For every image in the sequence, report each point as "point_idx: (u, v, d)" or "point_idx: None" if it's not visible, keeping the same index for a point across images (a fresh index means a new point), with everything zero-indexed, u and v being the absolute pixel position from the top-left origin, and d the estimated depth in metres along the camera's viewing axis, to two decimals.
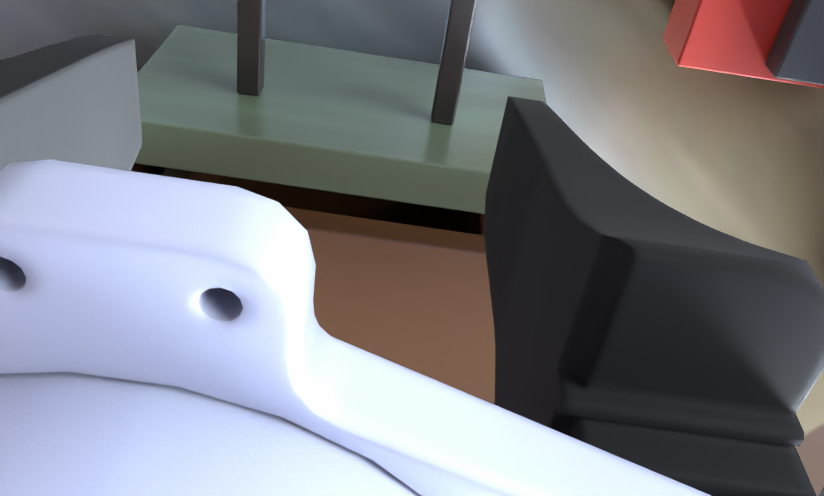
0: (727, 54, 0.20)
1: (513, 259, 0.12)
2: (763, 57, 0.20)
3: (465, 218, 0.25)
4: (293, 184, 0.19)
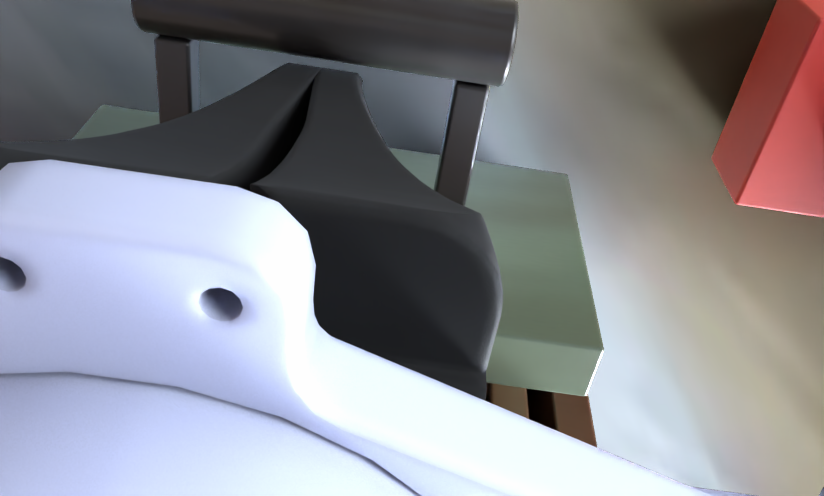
0: (800, 192, 0.16)
1: None
2: None
3: None
4: None
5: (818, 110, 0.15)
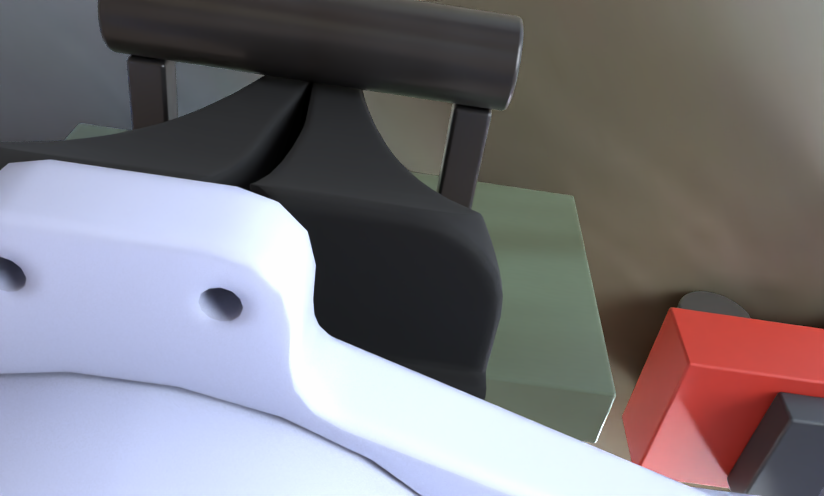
0: (687, 469, 0.19)
1: None
2: (725, 474, 0.19)
3: None
4: None
5: (695, 418, 0.18)
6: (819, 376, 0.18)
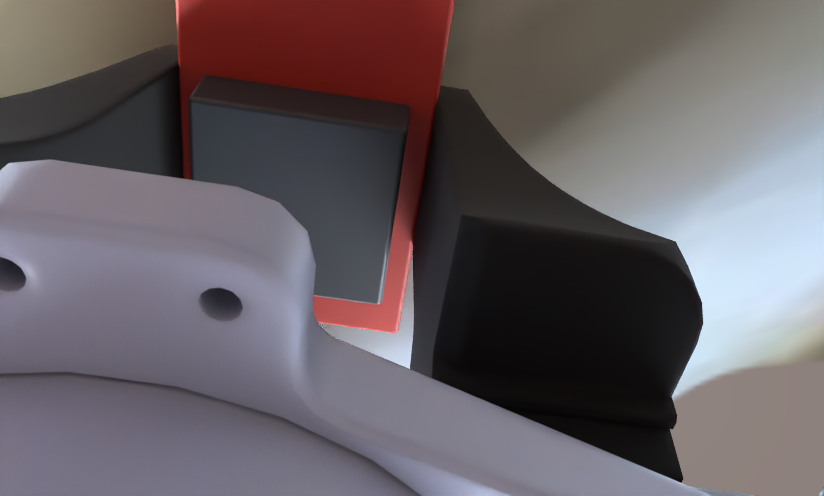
0: (210, 8, 0.11)
1: (427, 247, 0.12)
2: (216, 70, 0.12)
3: None
4: None
5: None
6: None
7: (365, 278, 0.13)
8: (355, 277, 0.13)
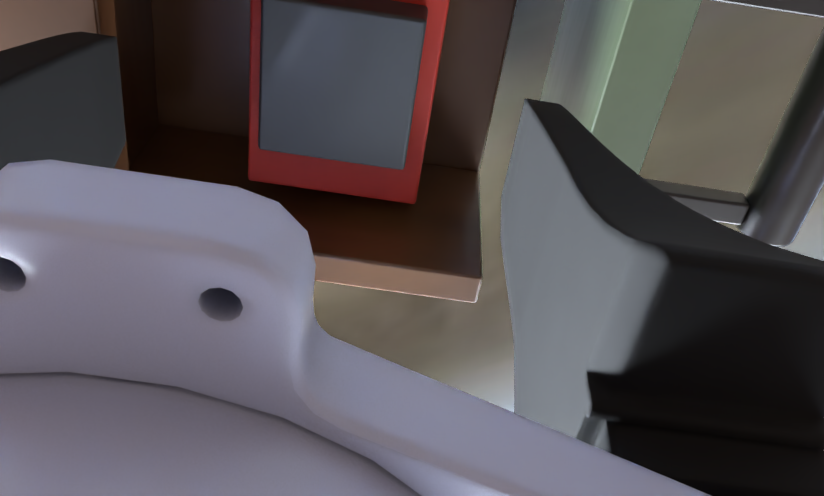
0: None
1: (533, 262, 0.12)
2: None
3: None
4: (602, 87, 0.14)
5: None
6: None
7: (392, 146, 0.17)
8: (384, 146, 0.17)
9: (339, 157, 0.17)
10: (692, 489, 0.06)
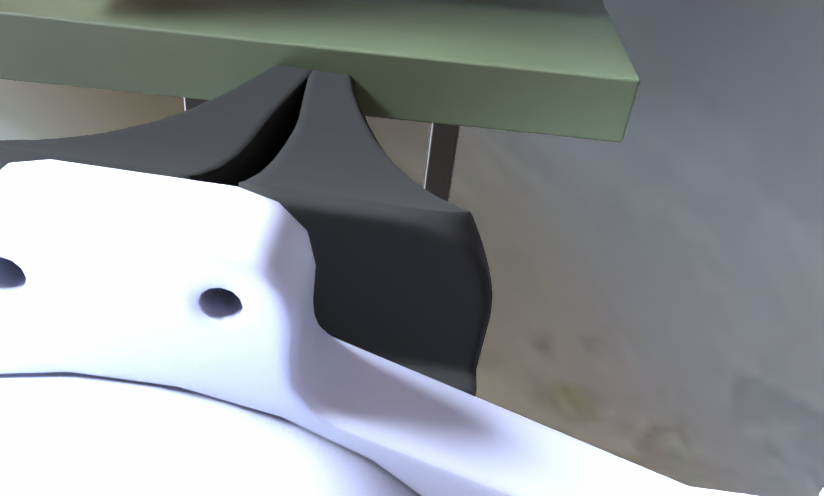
0: None
1: None
2: None
3: None
4: (367, 48, 0.13)
5: None
6: None
7: None
8: None
9: None
10: (692, 489, 0.06)
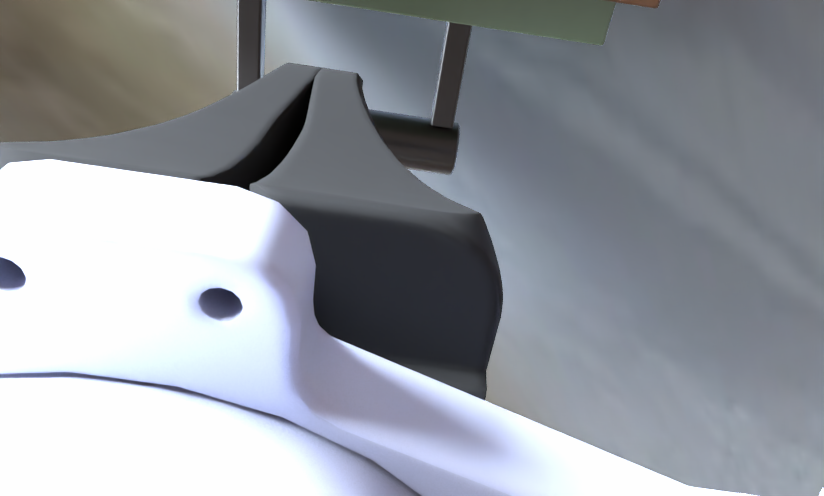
0: None
1: None
2: None
3: None
4: None
5: None
6: None
7: None
8: None
9: None
10: (692, 489, 0.06)
